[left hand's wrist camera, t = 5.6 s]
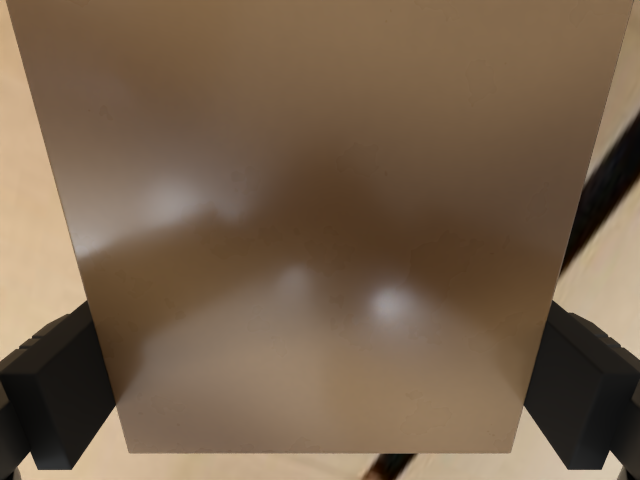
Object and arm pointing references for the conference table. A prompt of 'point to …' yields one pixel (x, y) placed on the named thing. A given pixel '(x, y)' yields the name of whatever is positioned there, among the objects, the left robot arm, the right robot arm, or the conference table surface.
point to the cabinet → (319, 208)
